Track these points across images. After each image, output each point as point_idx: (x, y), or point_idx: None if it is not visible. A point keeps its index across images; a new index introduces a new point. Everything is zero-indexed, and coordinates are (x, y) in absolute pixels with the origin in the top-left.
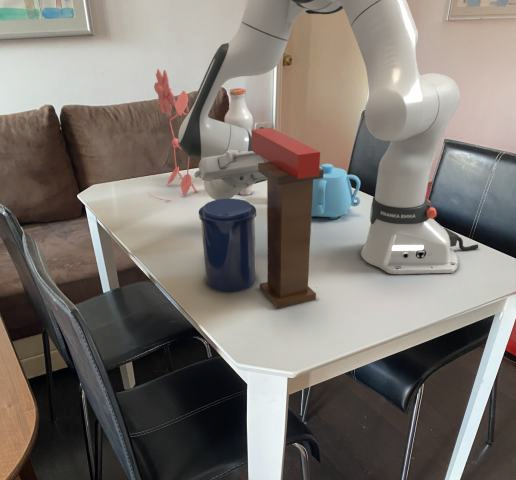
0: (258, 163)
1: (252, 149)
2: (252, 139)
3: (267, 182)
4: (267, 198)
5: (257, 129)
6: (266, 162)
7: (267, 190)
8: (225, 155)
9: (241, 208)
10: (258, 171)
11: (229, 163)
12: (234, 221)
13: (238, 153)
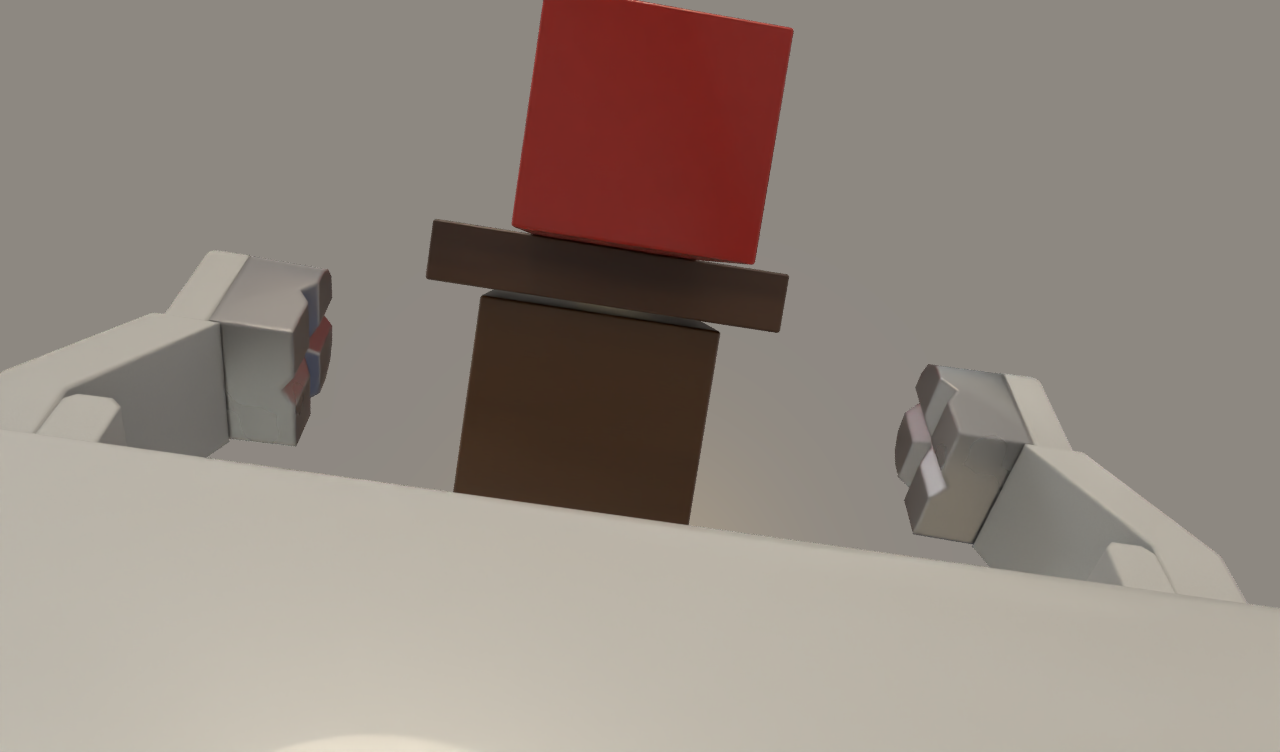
0: (786, 274)
1: (754, 243)
2: (772, 132)
3: (709, 390)
4: (691, 501)
5: (721, 18)
6: (723, 264)
7: (700, 445)
8: (1095, 471)
9: None
10: (778, 329)
11: (1004, 563)
12: None
13: (813, 544)
